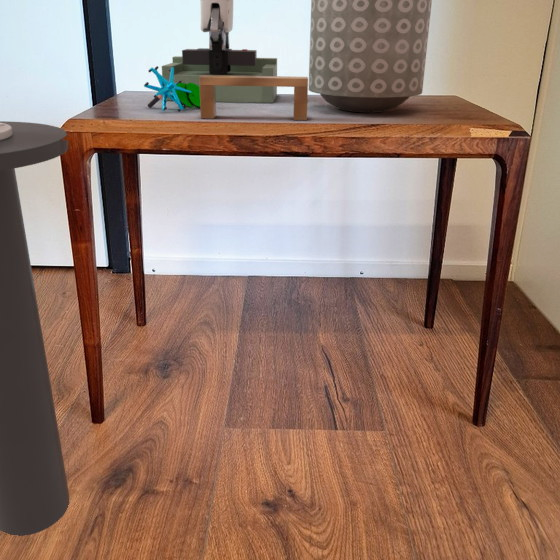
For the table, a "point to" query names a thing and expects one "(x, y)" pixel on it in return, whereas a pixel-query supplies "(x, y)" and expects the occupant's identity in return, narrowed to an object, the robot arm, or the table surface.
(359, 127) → the table surface
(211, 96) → the wooden bench stand
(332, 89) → the planter
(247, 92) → the sofa
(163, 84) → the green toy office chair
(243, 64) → the bar
